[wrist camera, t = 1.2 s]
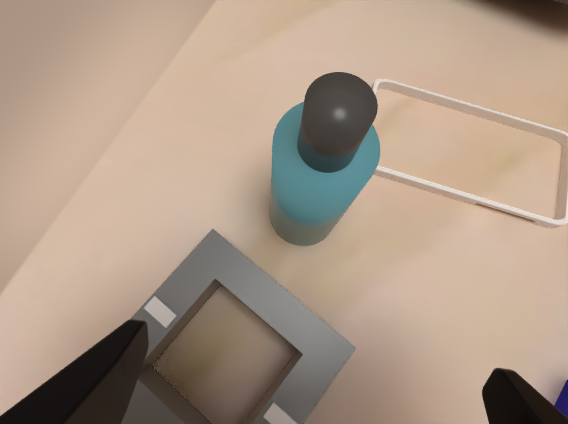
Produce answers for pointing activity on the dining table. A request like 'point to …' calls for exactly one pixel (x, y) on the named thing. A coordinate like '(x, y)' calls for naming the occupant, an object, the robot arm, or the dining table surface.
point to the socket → (266, 304)
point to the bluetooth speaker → (562, 1)
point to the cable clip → (563, 400)
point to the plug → (322, 157)
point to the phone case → (564, 212)
